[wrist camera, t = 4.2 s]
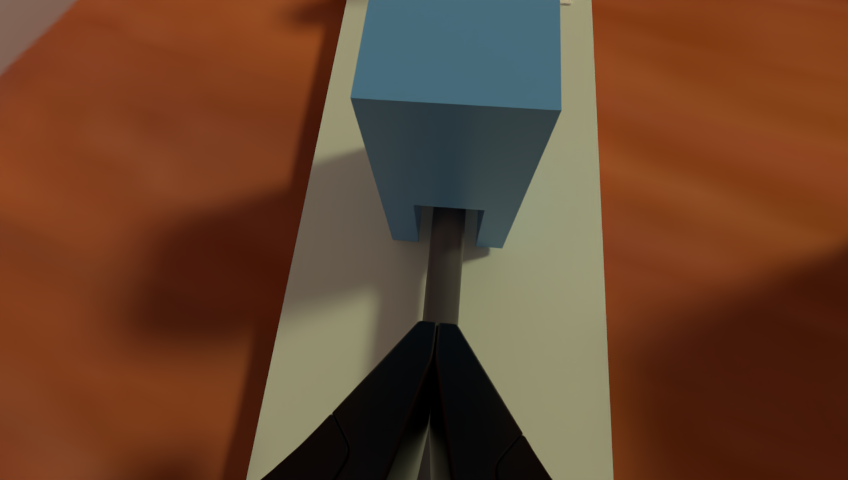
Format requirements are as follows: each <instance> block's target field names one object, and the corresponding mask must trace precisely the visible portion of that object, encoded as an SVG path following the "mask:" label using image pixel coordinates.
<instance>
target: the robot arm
mask: <svg viewBox="0 0 848 480" xmlns="http://www.w3.org/2000/svg"><path fill="white" fill-rule="evenodd" d="M437 327H438V328H437ZM430 409H431V410H430ZM429 419H430V425H429ZM428 426H429V442H430V472H431V480H552V478H551V477H550V475H549V474H548V472H547V471H546V469H545V468H544V466H543V465H542V463H541V461H540V460H539V458H538V457H537V455H536V454H535V452H534V451H533V449H532V447H531V446H530V444H529V442H528V441H527V439H526V437H525V436H524V435H523V433H522V431H521V429H520V428H519V426H518V424H517V423H516V421H515V419H514V418H513V416H512V414H511V413H510V411H509V409H508V408H507V406H506V404H505V403H504V401H503V399H502V398H501V396H500V394H499V393H498V391H497V389H496V388H495V386H494V384H493V383H492V381H491V380H490V378H489V376H488V375H487V373H486V371H485V370H484V368H483V366H482V365H481V363H480V361H479V360H478V358H477V356H476V355H475V353H474V351H473V350H472V348H471V346H470V345H469V343H468V341H467V340H466V338H465V336H464V335H463V333H462V331H461V330H460V328H459V327H458V325H456V324H451V323H439V324H438V326H437V323H436V322H430V321H418V322H417V323H416V324H415V325H414V326H413V327H412V328H411V329H410V331H409V332H408V333H407V334H406V335H405V336H404V337H403V338H402V339H401V340H400V341H399V342H398V343H397V344H396V345H395V346H394V347H393V349H392V350H391V351H390V352H389V353H388V354H387V355H386V356H385V357H384V358H383V359H382V360H381V361H380V362H379V363H378V364H377V365H376V366H375V368H374V369H373V370H372V371H371V372H370V373H369V374H368V375H367V376H366V377H365V378H364V379H363V380H362V381H361V382H360V383H359V384H358V386H357V387H356V388H355V389H354V390H353V391H352V392H351V393H350V394H349V395H348V396H347V397H346V398H345V399H344V400H343V401H342V402H341V404H340V405H339V406H338V407H337V408H336V409H335V410H334V411H333V412H332V414H330V415H329V416H328V417H327V418H326V419H325V420H324V421H323V422H322V423H321V424H320V426H319V427H318V428H317V429H316V430H315V431H314V432H313V433H312V434H311V435H310V436H309V437H308V438H307V439H306V440H305V441H304V442H303V443H302V444H300V445H299V446H298V447H297V448H296V449H295V450H294V451H293V452H292V453H291V454H289V455H288V456H287V457H286V458H285V459H284V460H283V461H282V462H280V463H279V464H278V465H277V466H276V467H275V468H274V469H273V470H271V471H270V472H269V473H268V474H267V475H265V476H264V477H263V478H262V479H261V480H417V478H418V473H419V469H420V464H421V460H422V455H423V451H424V446H425V442H426V437H427V432H428Z"/></svg>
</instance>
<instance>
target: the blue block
mask: <svg viewBox="0 0 848 480" xmlns="http://www.w3.org/2000/svg"><path fill="white" fill-rule="evenodd" d="M350 99H351V102H352V106H353V109H354V112H355V116H356V119H357V122H358V126H359V129H360V132H361V136H362V139H363V142H364V146H365V149H366V152H367V156H368V159H369V162H370V166H371V169H372V172H373V176H374V179H375V182H376V186H377V189H378V192H379V196H380V199H381V202H382V206H383V209H384V212H385V216H386V219H387V222H388V226H389V229H390V232H391V236H392V239H393V240H402V241H415V242H418V241H419V232H420V223H421V214H422V206H434V207H448V208H461V209H474V210H478V218H477V235H476V246H477V247H489V248H503V245H504V243H505V241H506V239H507V236H508V234H509V232H510V229H511V227H512V225H513V222H514V220H515V218H516V215H517V213H518V211H519V208H520V206H521V204H522V201H523V199H524V197H525V194H526V192H527V190H528V187H529V185H530V183H531V180H532V178H533V176H534V173H535V171H536V169H537V166H538V164H539V162H540V159H541V157H542V155H543V153H544V150H545V148H546V146H547V143H548V141H549V139H550V136H551V134H552V132H553V129H554V127H555V125H556V122H557V120H558V118H559V115H560V113H561V111H562V104H561V29H560V0H368V6H367V11H366V16H365V22H364V27H363V32H362V38H361V43H360V48H359V54H358V59H357V64H356V70H355V75H354V80H353V86H352V91H351V96H350Z"/></svg>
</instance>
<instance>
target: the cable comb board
mask: <svg viewBox="0 0 848 480" xmlns="http://www.w3.org/2000/svg"><path fill="white" fill-rule="evenodd" d="M367 6H368V0H347V2H346V6H345V11H344V16H343V21H342V25H341V30H340V35H339V40H338V44H337V49H336V54H335V59H334V64H333V68H332V73H331V78H330V83H329V87H328V92H327V97H326V102H325V106H324V111H323V116H322V121H321V126H320V130H319V135H318V140H317V145H316V149H315V154H314V159H313V164H312V168H311V173H310V178H309V183H308V187H307V192H306V197H305V202H304V207H303V211H302V216H301V221H300V226H299V230H298V235H297V240H296V245H295V249H294V254H293V259H292V264H291V269H290V273H289V278H288V283H287V288H286V292H285V297H284V302H283V307H282V311H281V316H280V321H279V326H278V330H277V335H276V340H275V345H274V350H273V354H272V359H271V364H270V369H269V373H268V378H267V383H266V388H265V392H264V397H263V402H262V407H261V411H260V416H259V421H258V426H257V431H256V435H255V440H254V445H253V450H252V454H251V459H250V464H249V469H248V473H247V478H246V480H261V479H262V478H263V477H264V476H265V475H267V474H268V473H269V472H270V471H271V470H273V469H274V468H275V467H276V466H277V465H278V464H279V463H280V462H282V461H283V460H284V459H285V458H286V457H287V456H288V455H289V454H291V453H292V452H293V451H294V450H295V449H296V448H297V447H298V446H299V445H300V444H302V443H303V442H304V441H305V440H306V439H307V438H308V437H309V436H310V435H311V434H312V433H313V432H314V431H315V430H316V429H317V428H318V427H319V426H320V424H321V423H322V422H323V421H324V420H325V419H326V418H327V417H328V416H329V415H330V414H332V412H333V411H334V410H335V409H336V408H337V407H338V406H339V405H340V404H341V402H342V401H343V400H344V399H345V398H346V397H347V396H348V395H349V394H350V393H351V392H352V391H353V390H354V389H355V388H356V387H357V386H358V384H359V383H360V382H361V381H362V380H363V379H364V378H365V377H366V376H367V375H368V374H369V373H370V372H371V371H372V370H373V369H374V368H375V366H376V365H377V364H378V363H379V362H380V361H381V360H382V359H383V358H384V357H385V356H386V355H387V354H388V353H389V352H390V351H391V350H392V349H393V347H394V346H395V345H396V344H397V343H398V342H399V341H400V340H401V339H402V338H403V337H404V336H405V335H406V334H407V333H408V332H409V331H410V329H411V328H412V327H413V326H414V325H415V324H416V323H417V322H418V321H430V322H436V323H437V326H438V324H439V323H451V324H456V325H458V327H459V328H460V330H461V331H462V333H463V335H464V336H465V338H466V340H467V341H468V343H469V345H470V346H471V348H472V350H473V351H474V353H475V355H476V356H477V358H478V360H479V361H480V363H481V365H482V366H483V368H484V370H485V371H486V373H487V375H488V376H489V378H490V380H491V381H492V383H493V384H494V386H495V388H496V389H497V391H498V393H499V394H500V396H501V398H502V399H503V401H504V403H505V404H506V406H507V408H508V409H509V411H510V413H511V414H512V416H513V418H514V419H515V421H516V423H517V424H518V426H519V428H520V429H521V431H522V433H523V435H524V436H525V437H526V439H527V441H528V442H529V444H530V446H531V447H532V449H533V451H534V452H535V454H536V455H537V457H538V458H539V460H540V461H541V463H542V465H543V466H544V468H545V469H546V471H547V472H548V474H549V475H550V477H551V478H552V480H613V459H612V437H611V416H610V394H609V372H608V350H607V329H606V307H605V285H604V263H603V242H602V220H601V198H600V177H599V155H598V133H597V111H596V90H595V68H594V46H593V25H592V3H591V0H560V29H561V104H562V111H561V113H560V115H559V118H558V120H557V122H556V125H555V127H554V129H553V132H552V134H551V136H550V139H549V141H548V143H547V146H546V148H545V150H544V153H543V155H542V157H541V159H540V162H539V164H538V166H537V169H536V171H535V173H534V176H533V178H532V180H531V183H530V185H529V187H528V190H527V192H526V194H525V197H524V199H523V201H522V204H521V206H520V208H519V211H518V213H517V215H516V218H515V220H514V222H513V225H512V227H511V229H510V232H509V234H508V236H507V239H506V241H505V243H504V245H503V248H489V247H477V246H476V235H477V218H478V210H474V209H461V208H448V207H434V206H422V214H421V223H420V232H419V241H418V242H415V241H402V240H393V239H392V236H391V232H390V229H389V226H388V222H387V219H386V216H385V212H384V209H383V206H382V202H381V199H380V196H379V192H378V189H377V186H376V182H375V179H374V176H373V172H372V169H371V166H370V162H369V159H368V156H367V152H366V149H365V146H364V142H363V139H362V136H361V132H360V129H359V126H358V122H357V119H356V116H355V112H354V109H353V106H352V102H351V99H350V96H351V91H352V86H353V80H354V75H355V70H356V64H357V59H358V54H359V48H360V43H361V38H362V32H363V27H364V22H365V16H366V11H367ZM437 328H438V327H437ZM430 410H431V409H430ZM429 425H430V419H429ZM417 480H431V472H430V442H429V426H428V432H427V437H426V442H425V446H424V451H423V455H422V460H421V464H420V469H419V473H418V478H417Z"/></svg>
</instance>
